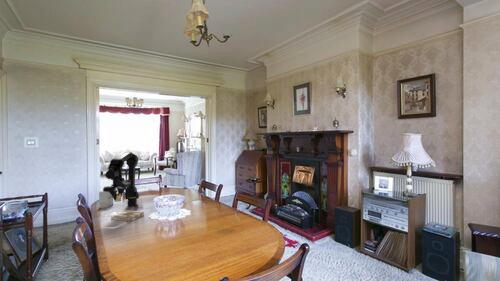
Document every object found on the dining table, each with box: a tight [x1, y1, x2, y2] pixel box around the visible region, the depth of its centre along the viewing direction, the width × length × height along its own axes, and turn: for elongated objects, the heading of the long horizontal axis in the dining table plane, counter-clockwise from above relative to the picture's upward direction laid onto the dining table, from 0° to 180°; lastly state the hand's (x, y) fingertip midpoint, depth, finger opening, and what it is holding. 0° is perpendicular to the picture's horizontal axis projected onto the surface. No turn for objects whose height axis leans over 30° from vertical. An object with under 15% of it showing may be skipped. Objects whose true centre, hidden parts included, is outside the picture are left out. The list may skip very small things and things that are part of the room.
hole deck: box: [110, 210, 145, 223], centre depth 166 cm, size 14×14×3 cm
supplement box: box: [98, 190, 114, 209], centre depth 194 cm, size 7×7×13 cm
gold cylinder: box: [113, 192, 122, 203], centre depth 169 cm, size 4×4×5 cm
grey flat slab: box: [104, 211, 122, 217], centre depth 171 cm, size 9×7×1 cm
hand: (117, 199), depth 169 cm, fingers closed on gold cylinder, 4 cm apart
